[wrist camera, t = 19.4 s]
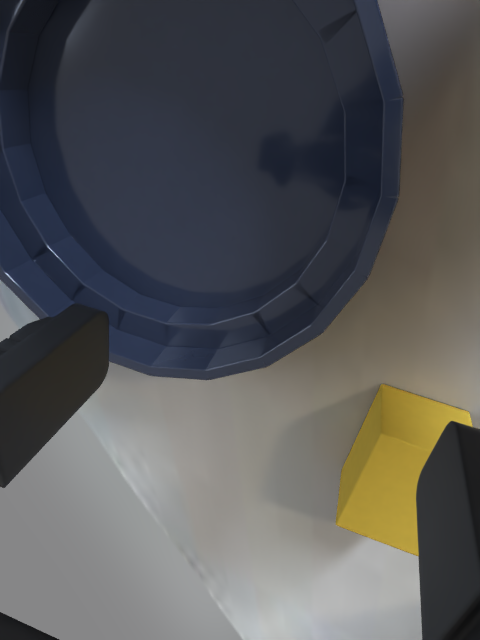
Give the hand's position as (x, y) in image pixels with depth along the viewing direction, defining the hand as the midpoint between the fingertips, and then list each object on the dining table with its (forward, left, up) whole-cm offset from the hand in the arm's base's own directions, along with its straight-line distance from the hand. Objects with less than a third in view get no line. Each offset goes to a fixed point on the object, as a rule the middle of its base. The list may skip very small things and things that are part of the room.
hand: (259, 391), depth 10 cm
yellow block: (-7, +10, -12) cm, 18 cm away
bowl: (+7, -2, -12) cm, 15 cm away
